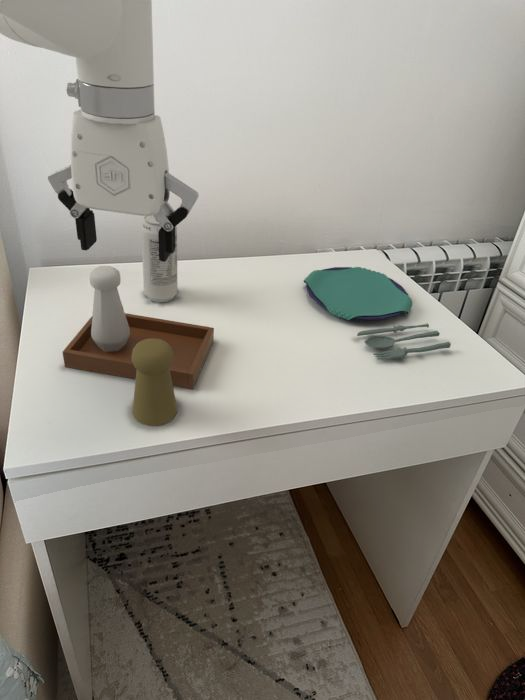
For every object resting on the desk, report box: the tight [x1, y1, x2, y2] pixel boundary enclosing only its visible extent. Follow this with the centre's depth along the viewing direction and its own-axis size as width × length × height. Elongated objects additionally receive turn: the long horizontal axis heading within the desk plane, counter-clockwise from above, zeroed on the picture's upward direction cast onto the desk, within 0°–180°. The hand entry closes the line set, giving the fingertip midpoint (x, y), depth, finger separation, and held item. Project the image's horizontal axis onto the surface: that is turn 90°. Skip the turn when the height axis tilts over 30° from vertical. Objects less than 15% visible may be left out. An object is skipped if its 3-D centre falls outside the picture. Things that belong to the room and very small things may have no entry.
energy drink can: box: [140, 215, 178, 303], centre depth 94 cm, size 6×6×15 cm
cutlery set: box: [303, 266, 452, 361], centre depth 99 cm, size 20×30×2 cm, turn 19°
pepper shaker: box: [131, 338, 178, 427], centre depth 70 cm, size 6×6×11 cm
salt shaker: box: [89, 265, 130, 352], centre depth 80 cm, size 6×6×13 cm
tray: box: [62, 312, 215, 390], centre depth 83 cm, size 20×13×3 cm, turn 81°
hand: (127, 251), depth 65 cm, fingers open, 9 cm apart
